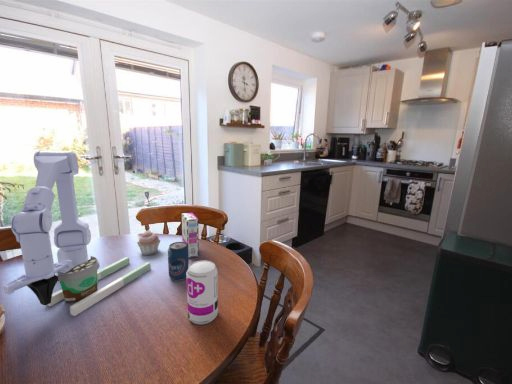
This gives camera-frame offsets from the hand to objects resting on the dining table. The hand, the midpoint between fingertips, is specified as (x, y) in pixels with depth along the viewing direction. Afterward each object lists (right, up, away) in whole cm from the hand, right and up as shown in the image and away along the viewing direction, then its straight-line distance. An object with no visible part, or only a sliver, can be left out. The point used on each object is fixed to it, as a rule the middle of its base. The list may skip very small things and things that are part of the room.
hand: (45, 303), depth 67 cm
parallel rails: (+6, -1, +16) cm, 18 cm away
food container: (+4, -2, +11) cm, 12 cm away
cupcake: (+10, +4, +41) cm, 43 cm away
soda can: (+29, -1, +23) cm, 37 cm away
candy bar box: (+28, +3, +42) cm, 50 cm away
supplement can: (+41, -5, +3) cm, 42 cm away
